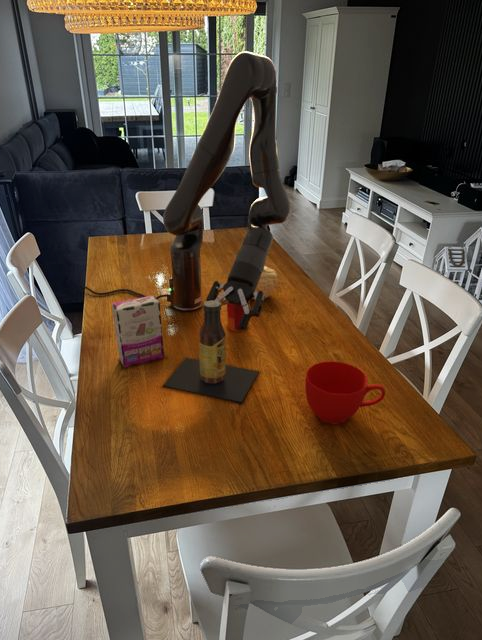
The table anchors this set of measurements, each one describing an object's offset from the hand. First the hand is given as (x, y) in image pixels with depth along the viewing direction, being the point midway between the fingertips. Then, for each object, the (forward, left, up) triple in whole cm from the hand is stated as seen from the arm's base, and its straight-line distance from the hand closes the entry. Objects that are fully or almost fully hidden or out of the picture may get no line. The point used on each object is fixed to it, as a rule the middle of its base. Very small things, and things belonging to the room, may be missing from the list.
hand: (225, 325), depth 120 cm
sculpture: (-5, +46, -12) cm, 48 cm away
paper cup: (-4, +22, -12) cm, 26 cm away
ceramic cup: (+31, -11, -12) cm, 35 cm away
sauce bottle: (-1, -7, -12) cm, 13 cm away
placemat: (-1, -7, -12) cm, 14 cm away
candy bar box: (-22, -4, -12) cm, 25 cm away
